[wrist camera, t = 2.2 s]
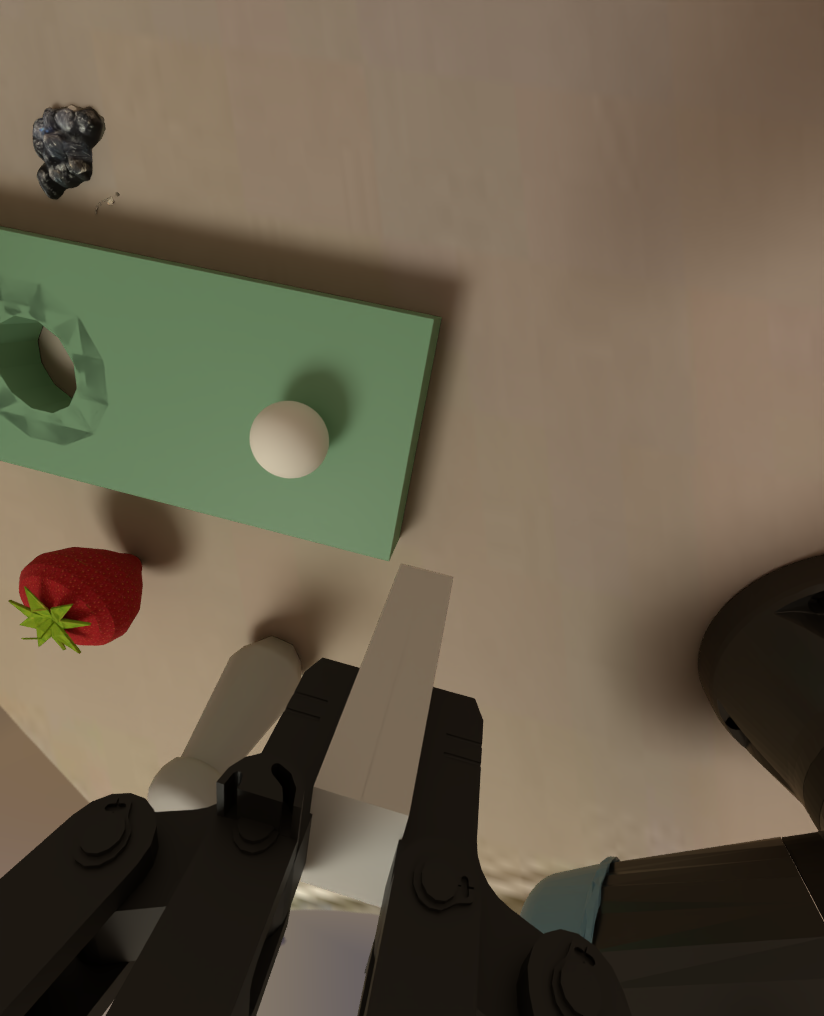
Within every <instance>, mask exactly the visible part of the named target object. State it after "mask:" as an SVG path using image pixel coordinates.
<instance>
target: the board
mask: <svg viewBox="0 0 824 1016" xmlns="http://www.w3.org/2000/svg"><path fill="white" fill-rule="evenodd" d="M441 319H442V317H438V316H433V315H428V314H424V313H419V312H414V311H409V310H404V309H399V308H394V307H390V306H385V305H380V304H375V303H370V302H365V301H361V300H356V299H351V298H346V297H341V296H336V295H332V294H327V293H322V292H317V291H312V290H307V289H302V288H298V287H293V286H288V285H283V284H278V283H273V282H269V281H264V280H259V279H254V278H249V277H244V276H240V275H235V274H230V273H225V272H220V271H215V270H210V269H206V268H201V267H196V266H191V265H186V264H181V263H177V262H172V261H167V260H162V259H157V258H152V257H148V256H143V255H138V254H133V253H128V252H123V251H118V250H114V249H109V248H104V247H99V246H94V245H89V244H85V243H80V242H75V241H70V240H65V239H60V238H56V237H51V236H46V235H41V234H36V233H31V232H26V231H22V230H17V229H12V228H7V227H2V226H0V461H4V462H7V463H11V464H15V465H19V466H23V467H27V468H31V469H34V470H38V471H42V472H46V473H50V474H54V475H58V476H62V477H65V478H69V479H73V480H77V481H81V482H85V483H89V484H92V485H96V486H100V487H104V488H108V489H112V490H116V491H119V492H123V493H127V494H131V495H135V496H139V497H143V498H146V499H150V500H154V501H158V502H162V503H166V504H170V505H173V506H177V507H181V508H185V509H189V510H193V511H197V512H200V513H204V514H208V515H212V516H216V517H220V518H224V519H228V520H231V521H235V522H239V523H243V524H247V525H251V526H255V527H258V528H262V529H266V530H270V531H274V532H278V533H282V534H285V535H289V536H293V537H297V538H301V539H305V540H309V541H312V542H316V543H320V544H324V545H328V546H332V547H336V548H339V549H343V550H347V551H351V552H355V553H359V554H363V555H366V556H370V557H374V558H378V559H382V560H386V561H389V560H390V558H391V555H392V553H393V551H394V549H395V547H396V544H397V542H398V540H399V537H400V531H401V526H402V521H403V516H404V511H405V506H406V500H407V495H408V490H409V485H410V480H411V474H412V469H413V464H414V459H415V454H416V448H417V443H418V438H419V433H420V428H421V423H422V417H423V412H424V407H425V402H426V397H427V391H428V386H429V381H430V376H431V371H432V366H433V360H434V355H435V350H436V345H437V340H438V334H439V329H440V324H441ZM43 326H44V327H46V328H47V329H48V330H49V331H50V332H52V333H53V334H54V335H55V336H57V337H58V338H59V339H60V341H61V343H62V344H63V346H64V348H65V350H66V351H67V353H68V355H69V357H70V358H71V360H72V362H73V363H74V370H75V378H76V385H77V389H76V392H75V394H74V396H73V398H71V397H69V396H68V395H67V394H66V393H64V392H63V391H62V390H61V389H59V388H58V387H57V386H56V385H54V383H53V382H52V380H51V378H50V377H49V375H48V373H47V372H46V370H45V368H44V367H43V365H42V363H41V358H40V352H39V346H38V338H39V335H40V333H41V330H42V327H43ZM280 401H296V402H300V403H303V404H305V405H307V406H309V407H311V408H312V409H313V410H315V411H316V412H317V413H318V414H319V415H320V417H321V418H322V420H323V421H324V423H325V425H326V427H327V430H328V434H329V447H328V452H327V455H326V457H325V459H324V461H323V462H322V464H321V465H320V466H319V467H318V468H317V469H316V470H315V471H313V472H312V473H310V474H308V475H306V476H303V477H299V478H282V477H278V476H275V475H273V474H271V473H269V472H268V471H266V470H265V469H264V468H263V467H262V466H261V465H260V464H259V463H258V462H257V460H256V459H255V457H254V455H253V453H252V450H251V447H250V430H251V426H252V424H253V421H254V420H255V418H256V416H257V415H258V414H259V413H260V412H261V411H262V410H263V409H264V408H266V407H267V406H269V405H271V404H273V403H276V402H280Z"/></svg>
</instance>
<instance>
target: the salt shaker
mask: <svg viewBox="0 0 824 1016" xmlns="http://www.w3.org/2000/svg"><path fill="white" fill-rule="evenodd" d="M300 680H301V661H300V659H299V657H298V655H297V653H296V651H295V649H294V647H293V645H292V644H289V643H287V642H285V641H282V640H280V639H278V638H276V637H273V636H270V637H268V638H265V639H263V640H260V641H257V642H254V643H252V644H249V645H246V646H244V647H243V648H241V649H240V650H239V651H237V652H236V653H235V654H233V655H232V656H231V657H230V659H229V661H228V663H227V665H226V667H225V669H224V671H223V673H222V675H221V677H220V679H219V681H218V683H217V685H216V687H215V689H214V691H213V693H212V695H211V697H210V699H209V701H208V703H207V705H206V707H205V709H204V711H203V713H202V715H201V718H200V720H199V722H198V724H197V726H196V728H195V730H194V732H193V734H192V736H191V738H190V740H189V742H188V744H187V746H186V748H185V750H184V752H183V754H182V756H181V757H176V758H174V759H173V760H171V761H170V762H168V763H167V764H166V765H164V766H163V767H162V768H161V770H160V771H159V772H158V773H157V774H156V776H155V777H154V779H153V781H152V783H151V785H150V787H149V791H148V803H149V804H150V805H151V806H152V808H153V809H154V811H155V812H162V811H179V810H194V809H200V808H206V807H209V806H212V805H214V804H217V797H216V782H217V780H218V779H219V778H220V777H221V776H222V775H223V773H224V772H225V771H226V770H227V769H228V767H230V766H231V765H233V764H235V763H236V762H238V761H239V760H241V759H243V758H244V757H246V756H247V755H248V753H249V752H250V751H251V750H252V749H253V747H254V746H255V745H256V744H257V743H258V742H259V740H260V739H261V738H262V737H263V736H264V734H265V733H266V732H267V731H268V730H269V729H270V727H271V726H272V725H273V724H274V723H275V721H276V720H277V719H278V718H279V717H280V716H281V714H282V713H283V712H284V711H285V709H286V706H287V704H288V702H289V701H290V699H291V697H292V695H294V692H295V689H296V688H297V686H298V684H299V682H300Z"/></svg>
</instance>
